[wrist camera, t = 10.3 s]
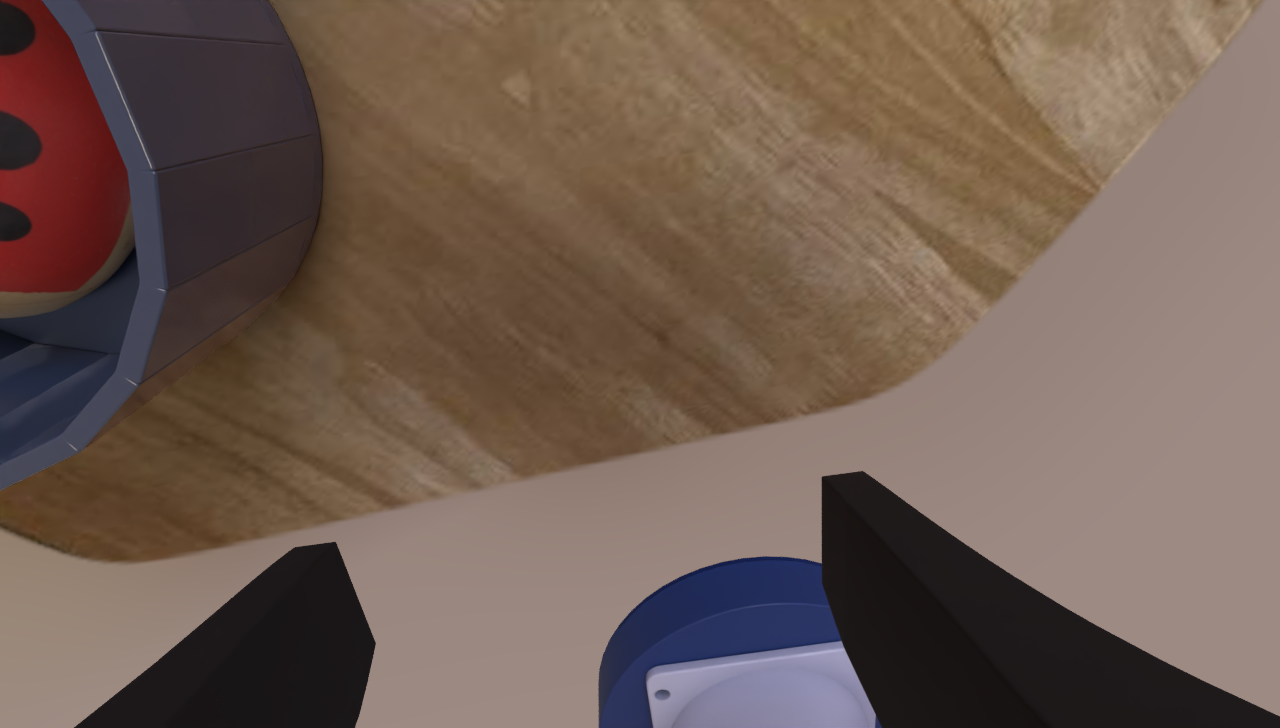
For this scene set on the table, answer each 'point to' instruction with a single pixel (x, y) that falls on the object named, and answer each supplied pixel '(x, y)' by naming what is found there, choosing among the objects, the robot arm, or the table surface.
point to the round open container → (170, 215)
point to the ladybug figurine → (54, 171)
